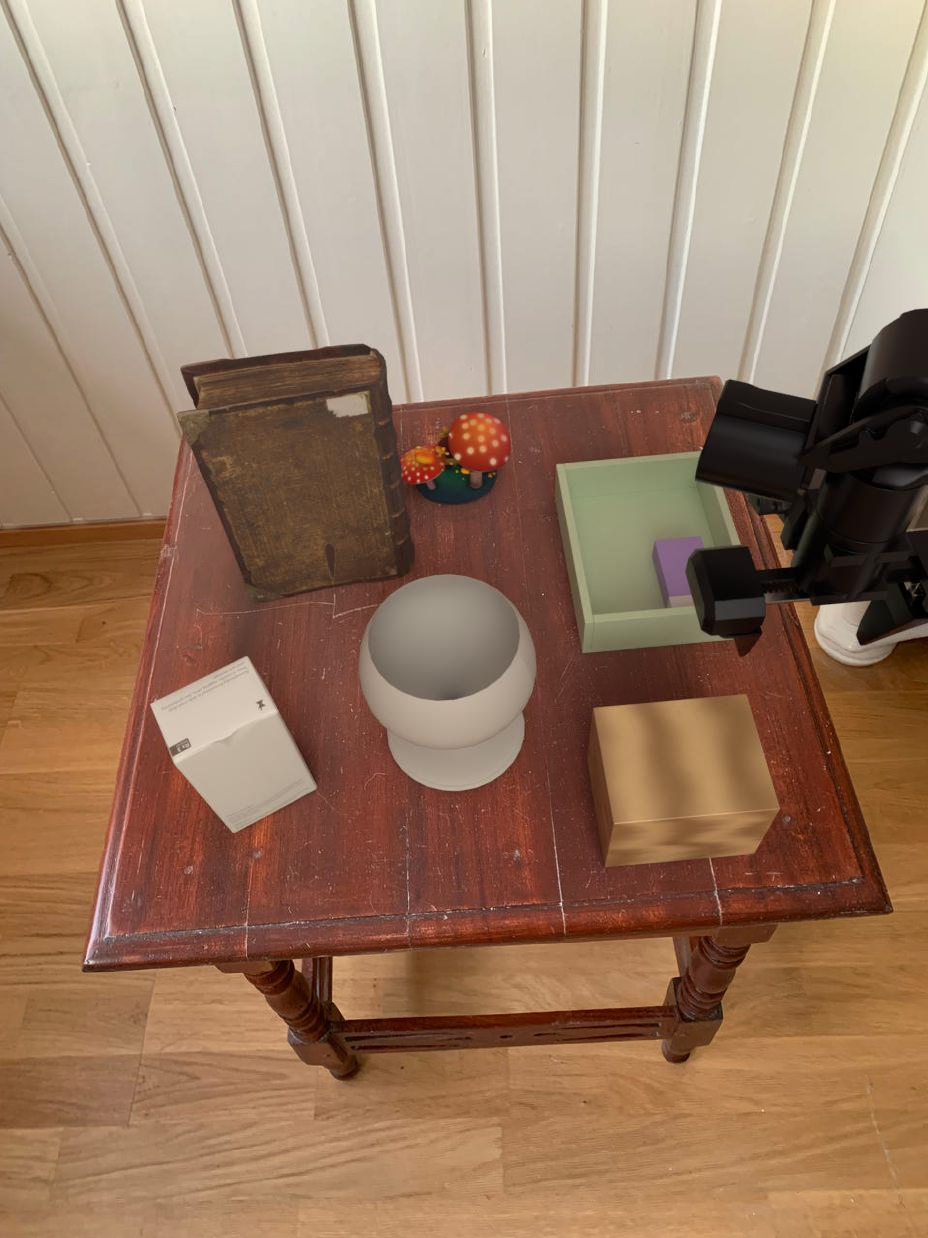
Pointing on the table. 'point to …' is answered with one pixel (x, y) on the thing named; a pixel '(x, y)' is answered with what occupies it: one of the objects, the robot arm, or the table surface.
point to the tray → (633, 545)
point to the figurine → (459, 460)
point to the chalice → (449, 679)
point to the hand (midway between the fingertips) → (800, 645)
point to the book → (302, 467)
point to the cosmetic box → (233, 745)
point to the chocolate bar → (674, 569)
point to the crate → (679, 780)
